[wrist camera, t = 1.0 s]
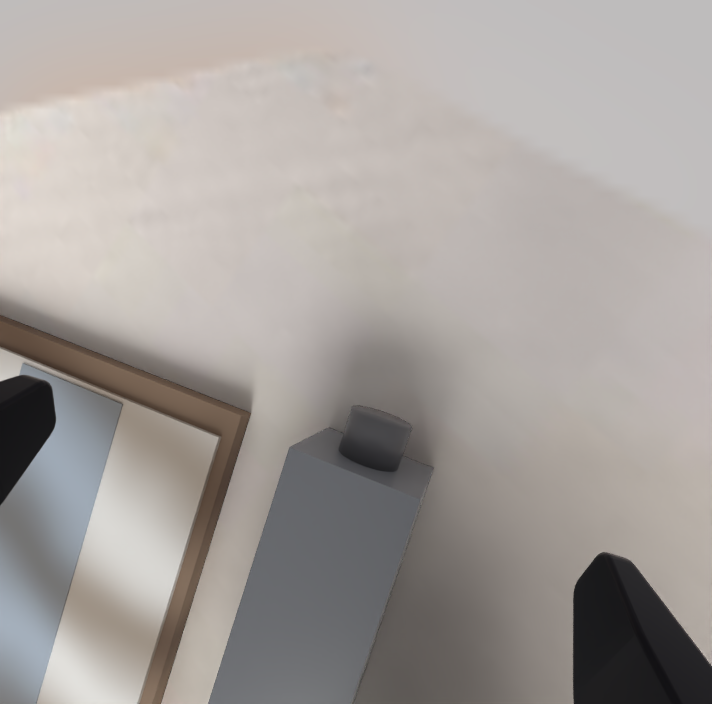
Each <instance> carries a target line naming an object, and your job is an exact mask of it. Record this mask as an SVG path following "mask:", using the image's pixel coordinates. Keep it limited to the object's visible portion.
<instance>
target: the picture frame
mask: <svg viewBox="0 0 712 704" xmlns="http://www.w3.org/2000/svg"><path fill="white" fill-rule="evenodd" d="M19 375H30V376H33V377H36V378H39V379H43V380H46V381H48V382H49V383H50V385H51V386H52V389H53V397H54V405H55V412H56V424H55V428H54V430H53V432H52V434H51V435H50V437H49V438H48V440H47V441H46V442H45V444H44V445H43V447H42V448H41V450H40V451H39V452H38V454H37V455H36V457H35V458H34V460H33V461H32V462H31V464H30V465H29V467H28V468H27V469H26V471H25V472H24V474H23V475H22V477H21V478H20V479H19V481H18V482H17V484H16V485H15V487H14V488H13V489H12V491H11V492H10V494H9V495H8V497H7V498H6V499H5V501H4V502H3V503H2V505H1V506H0V704H161V701H162V698H163V694H164V691H165V688H166V685H167V681H168V678H169V675H170V672H171V669H172V665H173V662H174V659H175V656H176V652H177V649H178V646H179V643H180V640H181V636H182V633H183V630H184V627H185V623H186V620H187V617H188V614H189V611H190V607H191V604H192V601H193V598H194V594H195V591H196V588H197V585H198V582H199V578H200V575H201V572H202V569H203V565H204V562H205V559H206V556H207V553H208V549H209V546H210V543H211V540H212V536H213V533H214V530H215V527H216V524H217V520H218V517H219V514H220V511H221V507H222V504H223V501H224V498H225V495H226V491H227V488H228V485H229V482H230V478H231V475H232V472H233V469H234V466H235V462H236V459H237V456H238V453H239V449H240V446H241V443H242V440H243V437H244V433H245V430H246V427H247V424H248V420H249V417H250V414H251V413H249V412H247V411H244V410H242V409H239V408H237V407H234V406H231V405H229V404H226V403H224V402H221V401H219V400H216V399H213V398H211V397H208V396H206V395H203V394H201V393H198V392H196V391H193V390H190V389H188V388H185V387H183V386H180V385H178V384H175V383H173V382H170V381H167V380H165V379H162V378H160V377H157V376H155V375H152V374H150V373H147V372H144V371H142V370H139V369H137V368H134V367H132V366H129V365H127V364H124V363H121V362H119V361H116V360H114V359H111V358H109V357H106V356H103V355H101V354H98V353H96V352H93V351H91V350H88V349H86V348H83V347H80V346H78V345H75V344H73V343H70V342H68V341H65V340H63V339H60V338H57V337H55V336H52V335H50V334H47V333H45V332H42V331H40V330H37V329H34V328H32V327H29V326H27V325H24V324H22V323H19V322H17V321H14V320H11V319H9V318H6V317H4V316H1V315H0V381H3V380H6V379H9V378H12V377H15V376H19Z"/></svg>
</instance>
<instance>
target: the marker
mask: <svg viewBox="0 0 712 704" xmlns="http://www.w3.org/2000/svg"><path fill="white" fill-rule="evenodd" d="M411 429H412V426H411V425H410V424H409V423H407V422H406V421H404V420H402V419H400V418H398V417H396V416H393V415H391V414H388V413H385V412H383V411H379V410H376V409H372V408H368V407H363V406H352V409H351V412H350V415H349V418H348V421H347V424H346V427H345V430H344V433H341V432H339V431H336V430H334V429H331V428H327V429H325V430H323V431H321V432H319V433H317V434H315V435H313V436H311V437H309V438H307V439H305V440H303V441H301V442H299V443H297V444H295V445H293V446H291V447H290V448H289V451H288V454H287V457H286V460H285V463H284V466H283V470H282V473H281V476H280V479H279V482H278V485H277V488H276V492H275V495H274V498H273V501H272V504H271V507H270V510H269V514H268V517H267V520H266V523H265V526H264V529H263V533H262V536H261V539H260V542H259V545H258V548H257V551H256V555H255V558H254V561H253V564H252V567H251V570H250V573H249V577H248V580H247V583H246V586H245V589H244V592H243V595H242V599H241V602H240V605H239V608H238V611H237V614H236V617H235V621H234V624H233V627H232V630H231V633H230V636H229V639H228V643H227V646H226V649H225V652H224V655H223V658H222V662H221V665H220V668H219V671H218V674H217V677H216V680H215V684H214V687H213V690H212V693H211V696H210V699H209V702H208V704H353V703H354V700H355V697H356V694H357V691H358V688H359V685H360V682H361V679H362V676H363V673H364V671H365V668H366V665H367V662H368V659H369V656H370V653H371V650H372V647H373V644H374V641H375V638H376V636H377V633H378V630H379V627H380V624H381V621H382V618H383V615H384V612H385V609H386V606H387V603H388V600H389V598H390V595H391V592H392V589H393V586H394V583H395V580H396V577H397V574H398V571H399V568H400V565H401V562H402V560H403V557H404V554H405V551H406V548H407V545H408V542H409V539H410V536H411V533H412V530H413V527H414V524H415V522H416V519H417V516H418V513H419V510H420V507H421V504H422V501H423V498H424V495H425V492H426V489H427V486H428V484H429V481H430V478H431V475H432V472H433V469H434V468H433V467H430V466H428V465H425V464H422V463H420V462H417V461H415V460H412V459H409V458H407V457H404V456H403V453H404V450H405V447H406V444H407V441H408V438H409V435H410V432H411Z"/></svg>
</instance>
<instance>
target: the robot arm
mask: <svg viewBox="0 0 712 704" xmlns="http://www.w3.org/2000/svg"><path fill="white" fill-rule="evenodd" d="M55 424H56V412H55V405H54V397H53V389H52V386H51V385H50V383H49V382H48V381H46V380H43V379H39V378H36V377H33V376H30V375H19V376H15V377H12V378H9V379H6V380H3V381H0V506H1V505H2V503H3V502H4V501H5V499H6V498H7V497H8V495H9V494H10V492H11V491H12V489H13V488H14V487H15V485H16V484H17V482H18V481H19V479H20V478H21V477H22V475H23V474H24V472H25V471H26V469H27V468H28V467H29V465H30V464H31V462H32V461H33V460H34V458H35V457H36V455H37V454H38V452H39V451H40V450H41V448H42V447H43V445H44V444H45V442H46V441H47V440H48V438H49V437H50V435H51V434H52V432H53V430H54V428H55ZM573 695H574V704H712V666H711V664H710V663H709V662H708V661H707V659H706V658H705V657H704V655H703V654H702V653H701V651H700V650H699V649H698V647H697V646H696V645H695V643H694V642H693V641H692V640H691V638H690V637H689V636H688V634H687V633H686V632H685V630H684V629H683V628H682V626H681V625H680V624H679V623H678V621H677V620H676V619H675V617H674V616H673V615H672V613H671V612H670V611H669V609H668V608H667V607H666V605H665V604H664V603H663V602H662V600H661V599H660V598H659V596H658V595H657V594H656V592H655V591H654V590H653V588H652V587H651V586H650V585H649V583H648V582H647V581H646V579H645V578H644V577H643V575H642V574H641V573H640V571H639V570H638V569H637V567H636V566H635V565H634V564H633V563H632V562H631V561H630V560H628V559H626V558H623V557H620V556H617V555H614V554H610V553H607V552H603V553H600V554H598V555H597V556H596V558H595V559H594V560H593V562H592V563H591V564H590V565H589V567H588V568H587V569H586V570H585V572H584V573H583V574H582V576H581V577H580V578H579V579H578V581H577V583H576V585H575V589H574V597H573Z"/></svg>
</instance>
